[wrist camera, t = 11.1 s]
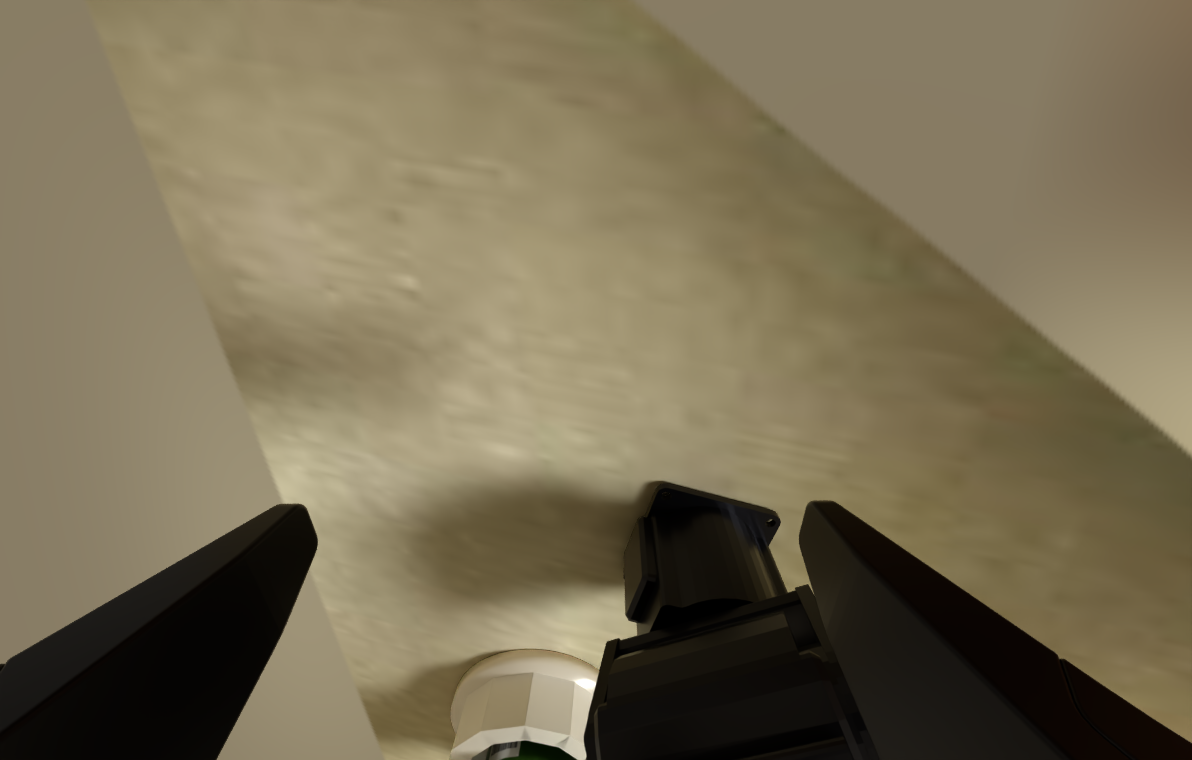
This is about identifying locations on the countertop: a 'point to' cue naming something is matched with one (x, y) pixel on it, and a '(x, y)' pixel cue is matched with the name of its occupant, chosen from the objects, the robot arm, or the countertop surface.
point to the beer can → (526, 751)
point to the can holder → (523, 703)
